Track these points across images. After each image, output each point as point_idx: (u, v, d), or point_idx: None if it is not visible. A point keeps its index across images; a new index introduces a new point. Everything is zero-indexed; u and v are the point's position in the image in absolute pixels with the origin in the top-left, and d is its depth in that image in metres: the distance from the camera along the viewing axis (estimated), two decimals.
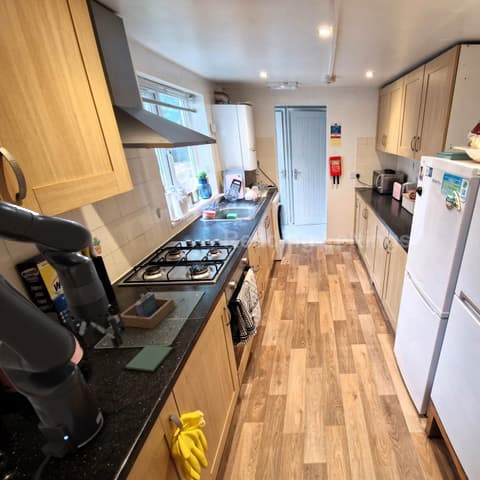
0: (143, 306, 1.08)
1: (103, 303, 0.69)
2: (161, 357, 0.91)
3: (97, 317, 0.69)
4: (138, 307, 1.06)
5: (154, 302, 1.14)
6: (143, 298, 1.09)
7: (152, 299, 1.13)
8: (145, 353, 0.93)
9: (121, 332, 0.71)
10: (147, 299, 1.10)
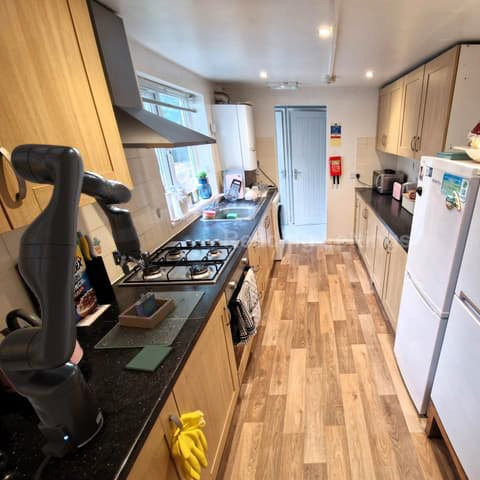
0: (143, 306, 1.08)
1: (137, 243, 1.00)
2: (161, 357, 0.91)
3: (133, 252, 1.00)
4: (138, 307, 1.06)
5: (154, 302, 1.14)
6: (143, 298, 1.09)
7: (152, 299, 1.13)
8: (145, 353, 0.93)
9: (149, 264, 1.02)
10: (147, 299, 1.10)
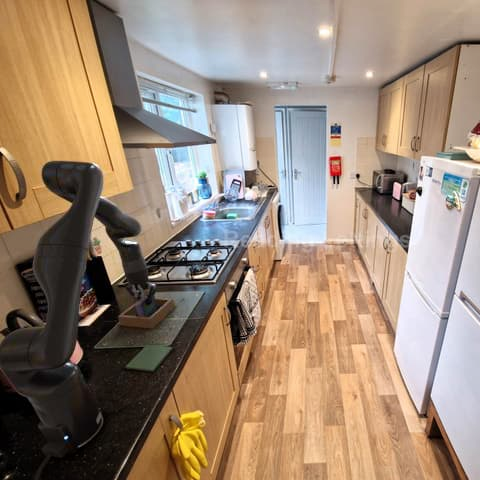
0: (143, 306, 1.08)
1: (145, 273, 1.05)
2: (161, 357, 0.91)
3: (142, 281, 1.05)
4: (138, 307, 1.06)
5: (154, 302, 1.14)
6: (143, 298, 1.09)
7: (152, 299, 1.13)
8: (145, 353, 0.93)
9: (152, 294, 1.08)
10: None
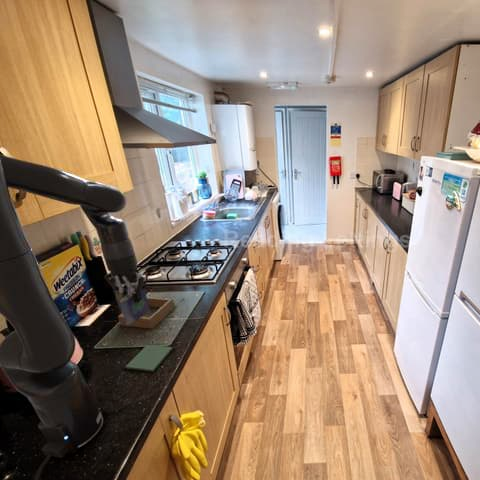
0: (130, 304, 0.83)
1: (133, 260, 0.81)
2: (161, 357, 0.91)
3: (128, 271, 0.81)
4: (123, 305, 0.81)
5: (145, 299, 0.89)
6: (130, 293, 0.84)
7: (142, 295, 0.88)
8: (145, 353, 0.93)
9: (141, 288, 0.83)
10: None
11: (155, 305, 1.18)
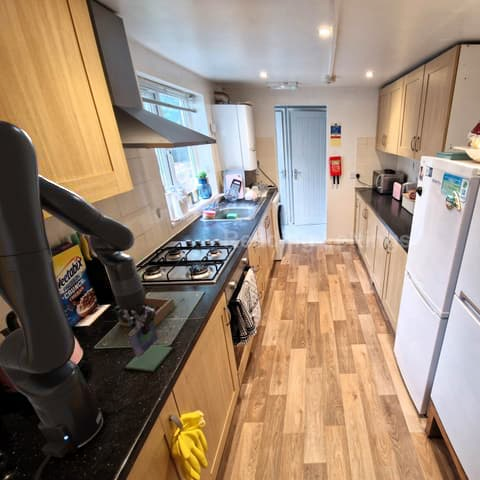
0: (139, 336, 0.85)
1: (141, 294, 0.82)
2: (161, 357, 0.91)
3: (137, 306, 0.82)
4: (132, 338, 0.83)
5: (153, 329, 0.90)
6: (139, 325, 0.86)
7: (150, 326, 0.89)
8: (145, 353, 0.93)
9: (150, 321, 0.85)
10: None
11: (155, 305, 1.18)
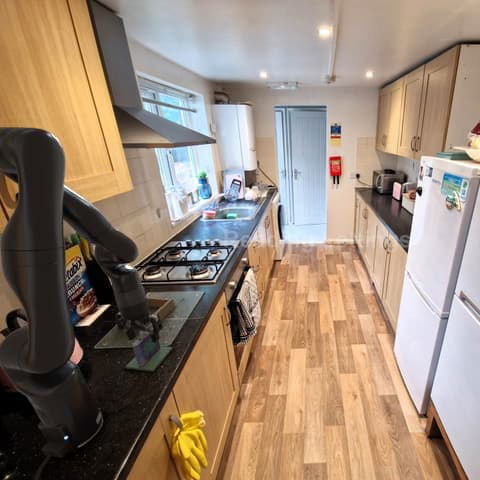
0: (142, 347, 0.86)
1: (145, 305, 0.83)
2: (161, 357, 0.91)
3: (140, 316, 0.83)
4: (136, 349, 0.84)
5: None
6: (142, 336, 0.87)
7: None
8: None
9: (159, 329, 0.85)
10: (147, 337, 0.88)
11: (155, 305, 1.18)
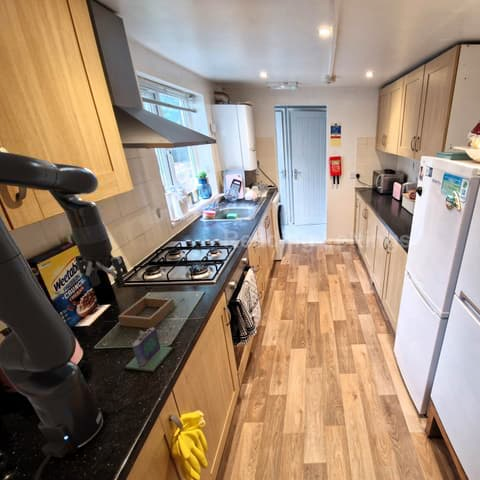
0: (142, 347, 0.86)
1: (107, 245, 0.77)
2: (161, 357, 0.91)
3: (102, 257, 0.77)
4: (136, 349, 0.84)
5: (156, 339, 0.92)
6: (142, 336, 0.87)
7: (153, 336, 0.91)
8: None
9: (123, 273, 0.80)
10: (147, 337, 0.88)
11: (155, 305, 1.18)
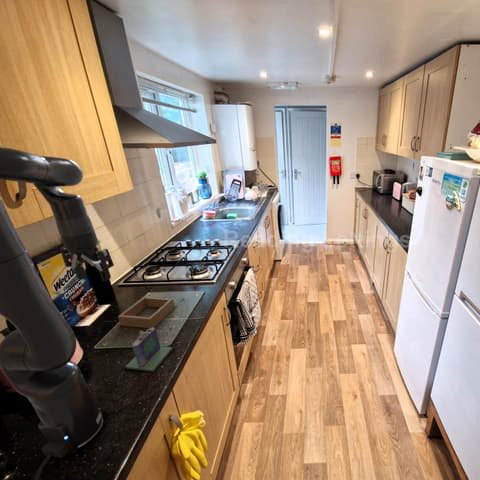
0: (142, 347, 0.86)
1: (92, 238, 0.77)
2: (161, 357, 0.91)
3: (87, 250, 0.77)
4: (136, 349, 0.84)
5: (156, 339, 0.92)
6: (142, 336, 0.87)
7: (153, 336, 0.91)
8: None
9: (108, 265, 0.80)
10: (147, 337, 0.88)
11: (155, 305, 1.18)
